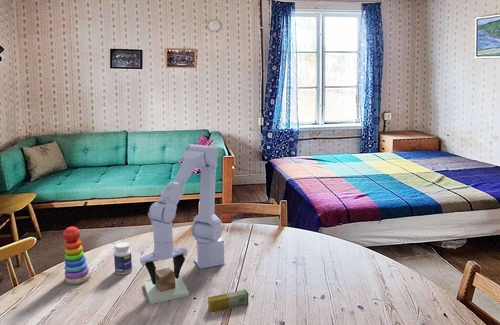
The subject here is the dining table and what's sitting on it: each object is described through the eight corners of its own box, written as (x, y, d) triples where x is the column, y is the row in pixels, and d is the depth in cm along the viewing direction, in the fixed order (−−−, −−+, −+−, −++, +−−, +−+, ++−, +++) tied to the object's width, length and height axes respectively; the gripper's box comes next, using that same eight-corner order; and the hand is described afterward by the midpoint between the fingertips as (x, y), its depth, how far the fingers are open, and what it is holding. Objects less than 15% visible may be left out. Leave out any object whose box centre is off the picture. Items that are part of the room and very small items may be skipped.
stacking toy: (79, 271, 144) (74, 221, 140) (95, 277, 140) (90, 225, 137) (59, 281, 138) (53, 228, 134) (75, 287, 134) (69, 233, 130)
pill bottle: (127, 275, 141) (125, 248, 139) (112, 274, 142) (109, 247, 140) (135, 268, 147) (133, 242, 145) (120, 266, 148) (118, 240, 146)
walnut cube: (170, 281, 135) (169, 267, 134) (175, 288, 131) (174, 273, 130) (155, 285, 133) (154, 271, 131) (160, 292, 128) (159, 277, 127)
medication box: (246, 301, 126) (245, 289, 125) (249, 305, 123) (248, 293, 123) (207, 309, 122) (207, 296, 121) (210, 313, 119) (209, 301, 118)
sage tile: (180, 278, 139) (180, 275, 139) (188, 295, 128) (188, 292, 128) (143, 285, 135) (143, 282, 135) (149, 304, 124) (149, 300, 124)
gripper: (180, 231, 135) (182, 269, 138) (136, 240, 128) (139, 280, 131) (188, 238, 129) (190, 278, 132) (143, 248, 122) (145, 290, 125)
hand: (165, 280), depth 131 cm, fingers open, 7 cm apart
